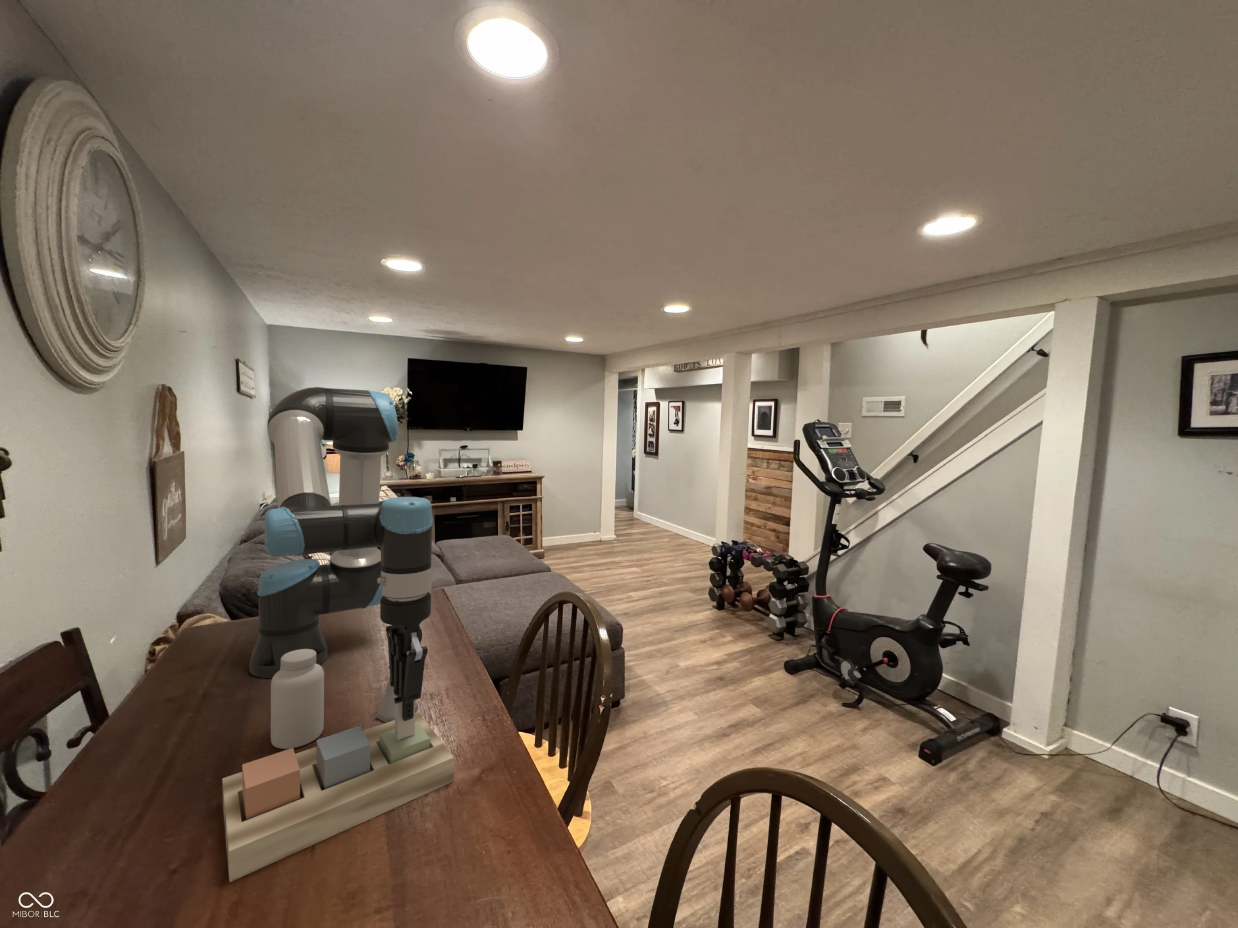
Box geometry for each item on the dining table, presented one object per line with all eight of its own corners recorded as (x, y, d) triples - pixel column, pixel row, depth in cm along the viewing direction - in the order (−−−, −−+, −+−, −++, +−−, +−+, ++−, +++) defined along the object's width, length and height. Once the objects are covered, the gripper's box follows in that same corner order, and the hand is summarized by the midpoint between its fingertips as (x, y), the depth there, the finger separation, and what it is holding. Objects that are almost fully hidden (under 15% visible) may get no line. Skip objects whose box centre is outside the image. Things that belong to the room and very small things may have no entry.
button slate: (316, 766, 75) (316, 739, 75) (359, 750, 79) (359, 725, 79) (324, 788, 70) (324, 760, 70) (370, 770, 74) (370, 744, 74)
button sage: (379, 758, 81) (379, 734, 81) (416, 744, 85) (417, 721, 85) (390, 778, 76) (391, 752, 76) (429, 762, 80) (429, 738, 80)
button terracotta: (242, 793, 69) (242, 764, 69) (293, 774, 73) (293, 747, 73) (246, 819, 64) (245, 788, 64) (300, 798, 68) (299, 769, 68)
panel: (222, 804, 72) (222, 778, 71) (418, 732, 90) (418, 711, 90) (229, 882, 60) (228, 851, 59) (453, 781, 78) (454, 757, 78)
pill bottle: (334, 728, 90) (334, 649, 89) (292, 755, 83) (292, 669, 82) (302, 719, 93) (302, 642, 92) (259, 744, 85) (259, 660, 84)
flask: (401, 726, 92) (402, 674, 91) (368, 720, 93) (368, 669, 93) (424, 705, 99) (425, 657, 98) (392, 700, 100) (393, 653, 100)
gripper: (369, 587, 81) (369, 724, 83) (394, 610, 72) (393, 765, 73) (416, 579, 86) (414, 709, 88) (444, 600, 77) (442, 745, 78)
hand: (404, 734), depth 80 cm, fingers closed
